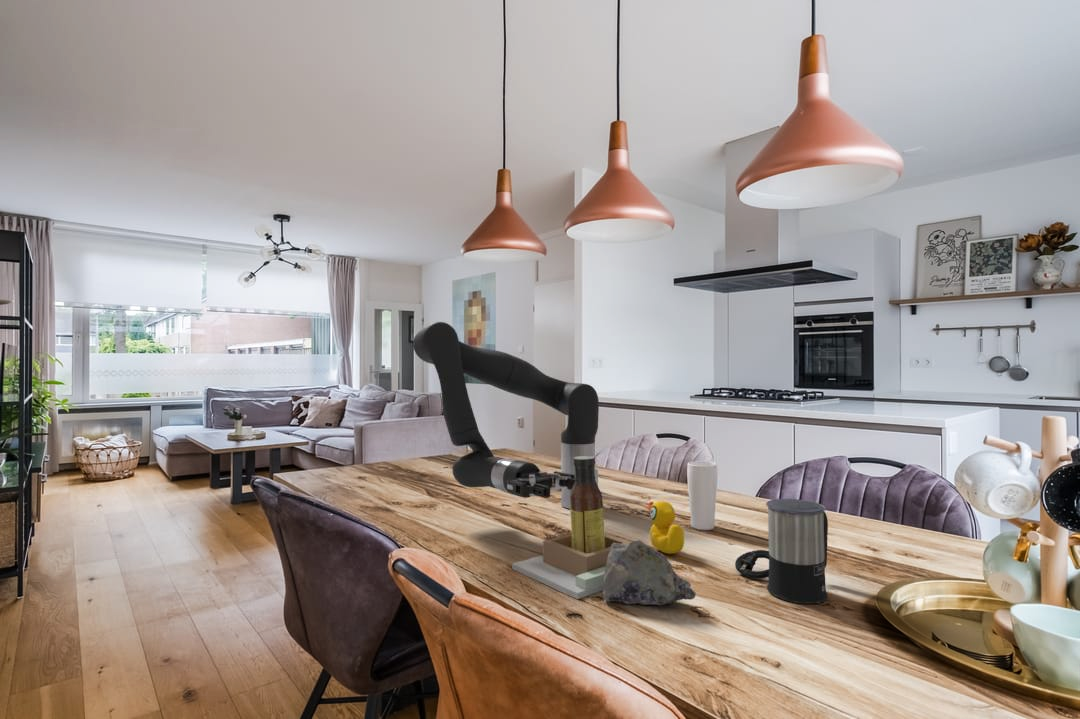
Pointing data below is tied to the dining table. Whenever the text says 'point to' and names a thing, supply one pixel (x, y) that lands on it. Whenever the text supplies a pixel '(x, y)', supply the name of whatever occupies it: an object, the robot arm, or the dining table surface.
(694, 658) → the dining table surface
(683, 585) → the mineral rock
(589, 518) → the sauce bottle
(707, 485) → the white tumbler
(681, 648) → the dining table surface
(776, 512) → the milk frother
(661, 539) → the duckling
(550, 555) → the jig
